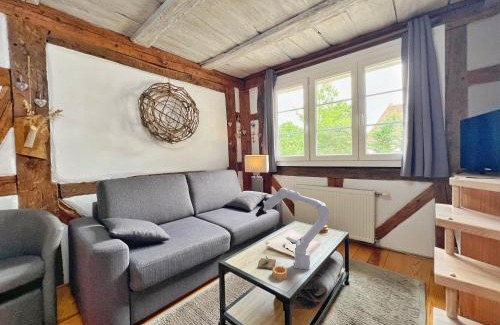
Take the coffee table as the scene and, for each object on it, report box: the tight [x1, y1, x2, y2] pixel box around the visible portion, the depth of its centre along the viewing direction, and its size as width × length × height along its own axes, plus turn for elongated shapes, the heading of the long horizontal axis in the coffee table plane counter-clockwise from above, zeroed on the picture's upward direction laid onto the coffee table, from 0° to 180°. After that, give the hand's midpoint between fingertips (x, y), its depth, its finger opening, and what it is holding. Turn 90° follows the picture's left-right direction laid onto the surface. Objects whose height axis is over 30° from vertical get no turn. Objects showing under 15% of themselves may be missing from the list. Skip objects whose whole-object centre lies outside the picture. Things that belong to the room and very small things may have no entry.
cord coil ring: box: [272, 265, 288, 281], centre depth 125 cm, size 8×8×4 cm
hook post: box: [265, 255, 270, 264], centre depth 137 cm, size 2×2×4 cm
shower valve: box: [285, 236, 297, 244], centre depth 160 cm, size 12×6×15 cm
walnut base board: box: [257, 257, 277, 271], centre depth 137 cm, size 10×10×1 cm
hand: (257, 214), depth 139 cm, fingers open, 7 cm apart
